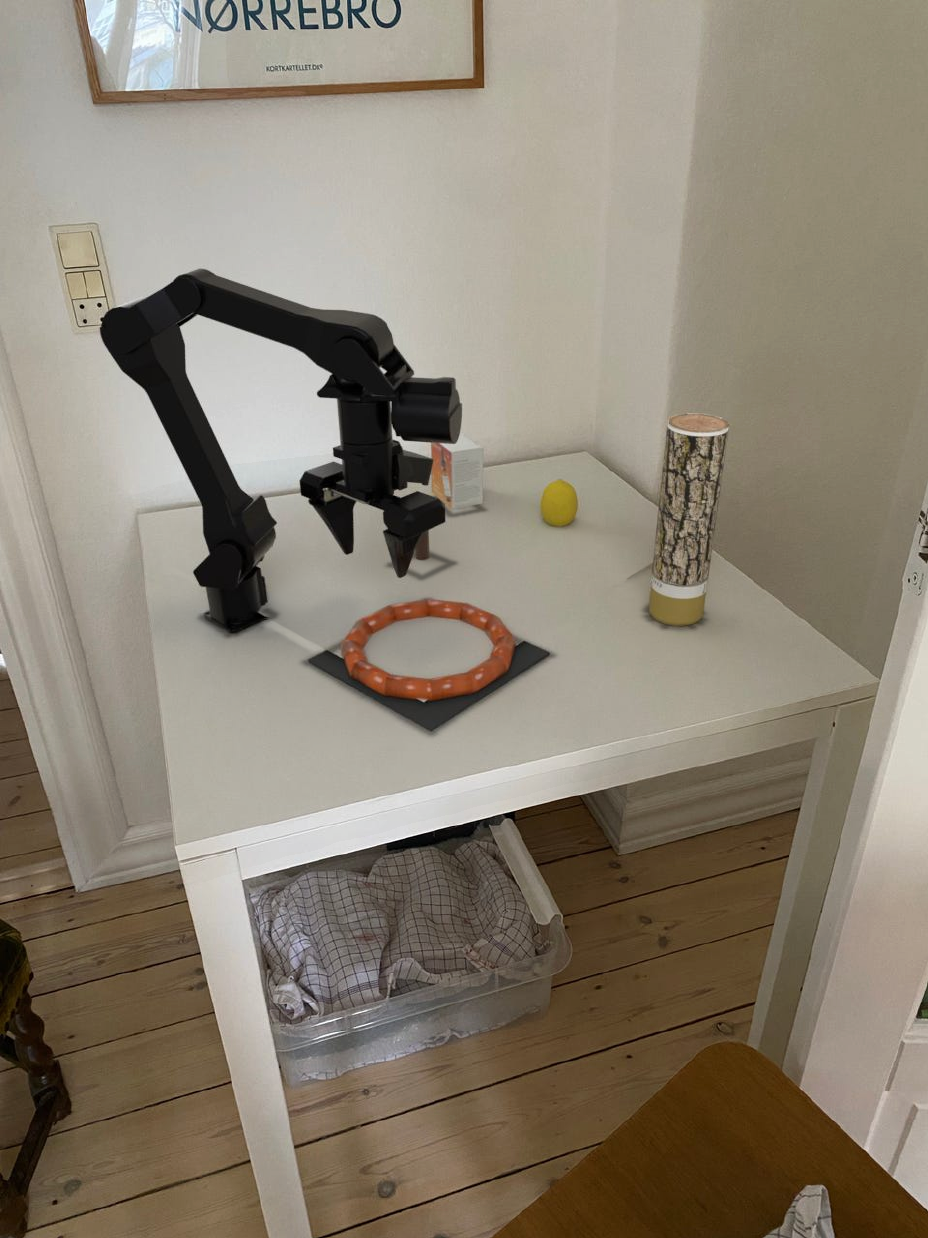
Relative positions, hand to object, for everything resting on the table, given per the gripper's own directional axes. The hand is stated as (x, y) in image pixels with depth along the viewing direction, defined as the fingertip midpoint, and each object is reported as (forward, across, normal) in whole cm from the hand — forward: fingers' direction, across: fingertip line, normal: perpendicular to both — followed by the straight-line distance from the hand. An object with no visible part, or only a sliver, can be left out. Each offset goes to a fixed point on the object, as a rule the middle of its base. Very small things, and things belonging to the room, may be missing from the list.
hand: (374, 564), depth 109 cm
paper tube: (+10, -25, -28) cm, 39 cm away
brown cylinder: (+9, +9, -17) cm, 21 cm away
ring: (+8, -9, 0) cm, 12 cm away
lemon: (+10, +2, -39) cm, 40 cm away
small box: (+10, +20, -36) cm, 42 cm away
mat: (+9, -9, 0) cm, 13 cm away
